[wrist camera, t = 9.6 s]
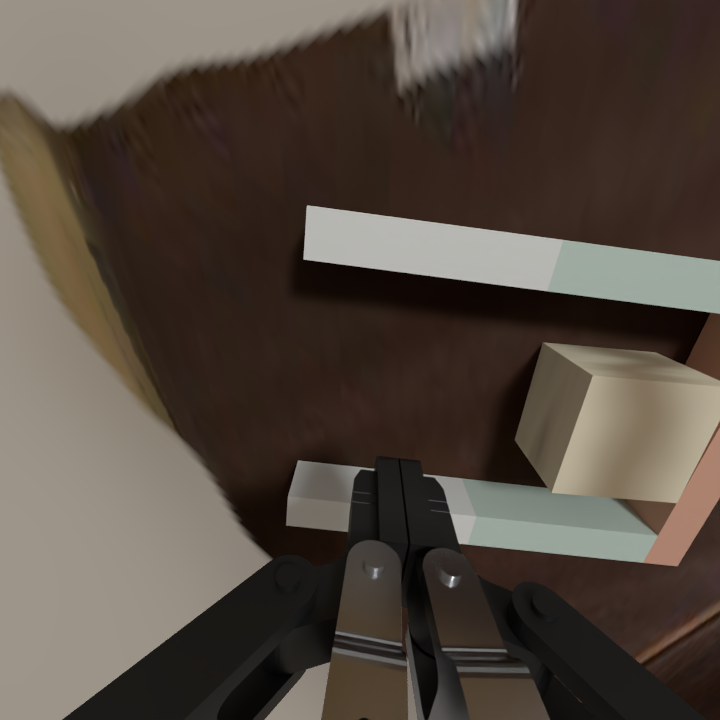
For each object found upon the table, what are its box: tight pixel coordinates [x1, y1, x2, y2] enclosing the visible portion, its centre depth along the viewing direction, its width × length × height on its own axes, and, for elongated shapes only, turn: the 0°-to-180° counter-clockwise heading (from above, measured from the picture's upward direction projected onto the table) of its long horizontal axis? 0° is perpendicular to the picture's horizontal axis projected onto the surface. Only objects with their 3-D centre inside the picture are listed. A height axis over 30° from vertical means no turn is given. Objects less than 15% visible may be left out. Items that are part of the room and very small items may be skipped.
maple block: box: [515, 343, 720, 503], centre depth 18 cm, size 6×6×4 cm
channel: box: [286, 205, 720, 566], centre depth 18 cm, size 22×16×3 cm
